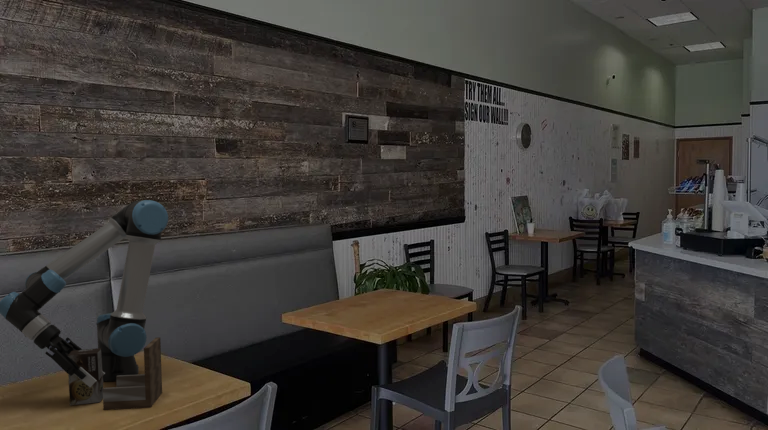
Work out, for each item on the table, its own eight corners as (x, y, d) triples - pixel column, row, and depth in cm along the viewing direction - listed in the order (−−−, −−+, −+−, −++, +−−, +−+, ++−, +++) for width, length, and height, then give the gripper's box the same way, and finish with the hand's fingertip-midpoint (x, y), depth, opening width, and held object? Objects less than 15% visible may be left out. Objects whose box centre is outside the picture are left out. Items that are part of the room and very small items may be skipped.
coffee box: (104, 396, 199) (102, 347, 198) (100, 402, 193) (98, 352, 192) (74, 399, 197) (72, 349, 196) (68, 405, 191) (66, 354, 190)
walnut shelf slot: (118, 395, 200) (116, 339, 199) (162, 392, 202) (160, 337, 201) (103, 410, 186) (101, 350, 185) (150, 407, 188) (148, 348, 187)
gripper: (47, 333, 202) (100, 379, 205) (18, 349, 182) (77, 399, 185) (63, 317, 203) (116, 363, 205) (36, 330, 183) (95, 381, 185)
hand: (97, 380), depth 195 cm, fingers closed on coffee box, 7 cm apart
